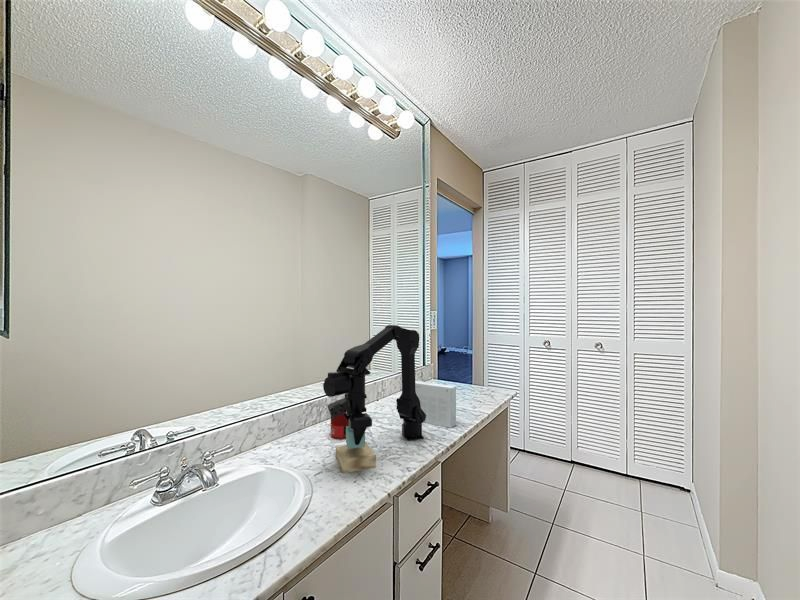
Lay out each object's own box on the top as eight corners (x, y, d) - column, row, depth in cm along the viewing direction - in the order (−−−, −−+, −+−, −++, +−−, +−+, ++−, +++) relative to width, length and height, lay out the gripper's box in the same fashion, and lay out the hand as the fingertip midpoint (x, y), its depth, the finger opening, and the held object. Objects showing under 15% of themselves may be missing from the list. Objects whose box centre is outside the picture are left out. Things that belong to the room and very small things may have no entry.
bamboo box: (365, 454, 110) (366, 441, 110) (375, 467, 101) (376, 453, 101) (335, 459, 106) (335, 446, 106) (343, 474, 97) (343, 459, 97)
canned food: (347, 440, 120) (348, 409, 120) (327, 438, 122) (327, 408, 122) (354, 432, 128) (355, 403, 128) (335, 431, 129) (335, 402, 130)
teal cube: (361, 440, 107) (361, 424, 107) (365, 446, 102) (365, 430, 102) (346, 442, 105) (346, 426, 105) (348, 448, 100) (348, 432, 100)
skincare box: (456, 424, 137) (456, 385, 137) (451, 428, 132) (451, 388, 133) (412, 415, 148) (412, 379, 149) (405, 419, 144) (406, 381, 144)
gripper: (326, 385, 110) (325, 433, 110) (333, 400, 92) (332, 457, 92) (359, 383, 114) (359, 429, 113) (372, 397, 96) (372, 452, 96)
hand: (355, 441), depth 103 cm, fingers closed on teal cube, 5 cm apart
